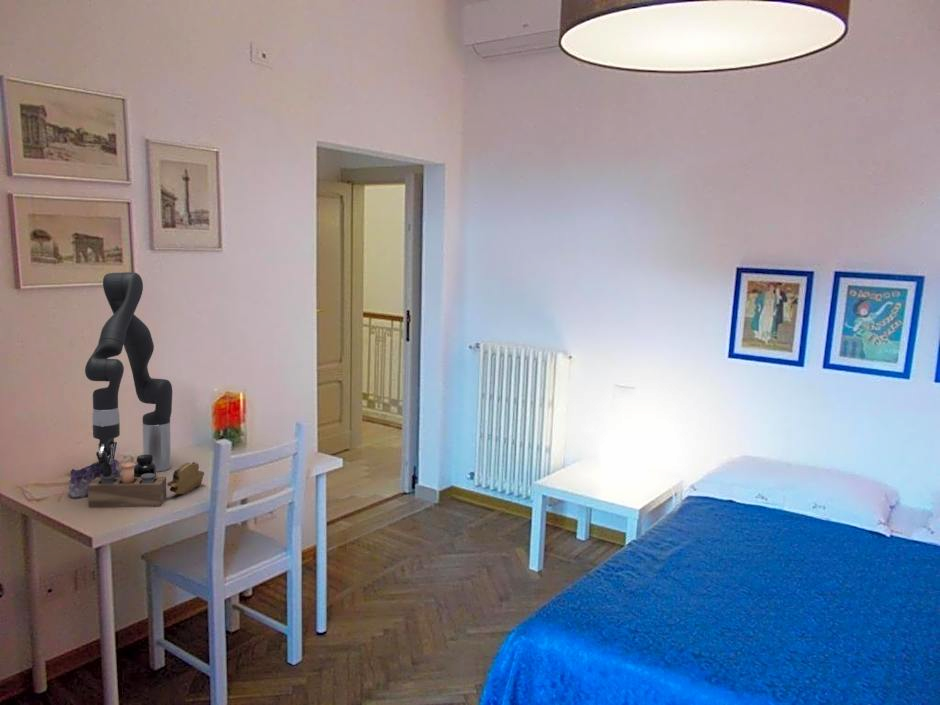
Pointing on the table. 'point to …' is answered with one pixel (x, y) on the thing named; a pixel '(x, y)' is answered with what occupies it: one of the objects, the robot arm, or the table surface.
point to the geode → (88, 478)
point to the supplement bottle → (144, 465)
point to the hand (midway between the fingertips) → (107, 475)
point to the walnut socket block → (127, 493)
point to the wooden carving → (186, 478)
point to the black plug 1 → (107, 479)
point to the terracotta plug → (127, 472)
